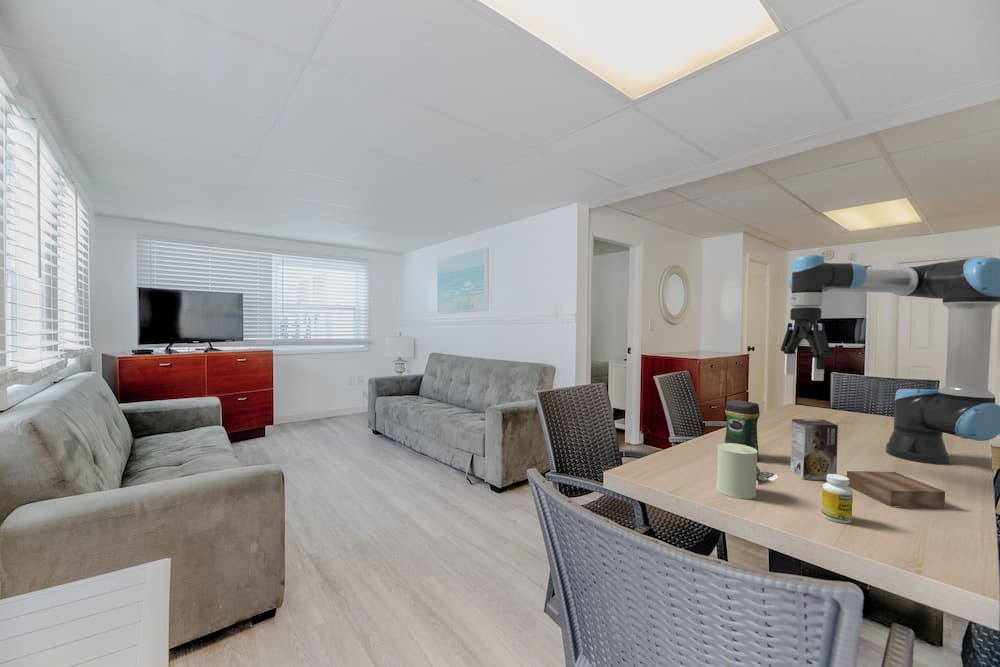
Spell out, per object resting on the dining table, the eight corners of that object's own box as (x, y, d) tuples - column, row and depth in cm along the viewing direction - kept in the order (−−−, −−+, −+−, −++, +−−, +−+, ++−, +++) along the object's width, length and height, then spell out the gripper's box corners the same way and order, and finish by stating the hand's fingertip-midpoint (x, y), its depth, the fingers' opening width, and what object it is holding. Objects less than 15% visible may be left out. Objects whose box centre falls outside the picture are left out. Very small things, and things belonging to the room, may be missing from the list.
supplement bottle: (833, 511, 98) (835, 471, 97) (857, 522, 92) (859, 480, 92) (815, 513, 96) (817, 473, 96) (838, 525, 91) (840, 482, 91)
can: (742, 501, 102) (743, 453, 102) (708, 488, 110) (709, 443, 110) (764, 495, 106) (765, 449, 106) (730, 482, 115) (731, 439, 114)
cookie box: (821, 473, 123) (823, 419, 123) (837, 481, 117) (839, 424, 116) (789, 471, 124) (791, 418, 123) (802, 479, 118) (804, 423, 117)
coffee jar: (762, 458, 135) (764, 402, 135) (749, 462, 131) (751, 404, 131) (732, 450, 144) (734, 397, 143) (719, 454, 139) (721, 399, 139)
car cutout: (763, 489, 111) (764, 473, 111) (737, 481, 116) (737, 465, 116) (784, 477, 120) (785, 462, 120) (759, 470, 126) (760, 456, 125)
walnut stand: (893, 486, 114) (894, 471, 114) (944, 507, 101) (945, 491, 101) (846, 485, 114) (847, 471, 114) (890, 506, 101) (891, 490, 101)
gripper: (770, 308, 138) (767, 371, 139) (819, 305, 113) (816, 383, 114) (794, 308, 137) (791, 372, 138) (849, 306, 112) (846, 384, 113)
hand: (802, 377), depth 126 cm, fingers open, 13 cm apart
